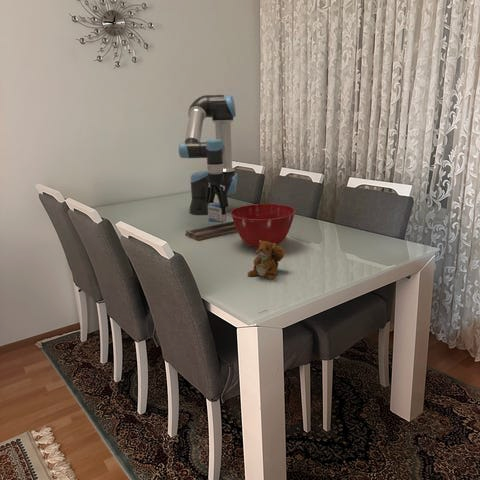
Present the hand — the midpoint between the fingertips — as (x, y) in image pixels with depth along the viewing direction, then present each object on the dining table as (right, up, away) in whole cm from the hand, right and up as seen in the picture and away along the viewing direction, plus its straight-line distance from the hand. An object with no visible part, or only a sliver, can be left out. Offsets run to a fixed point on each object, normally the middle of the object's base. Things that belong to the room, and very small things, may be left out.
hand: (217, 219), depth 221 cm
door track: (0, -6, +2) cm, 7 cm away
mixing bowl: (+21, -12, -18) cm, 30 cm away
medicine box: (0, -1, 0) cm, 1 cm away
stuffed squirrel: (+21, -23, -52) cm, 60 cm away
